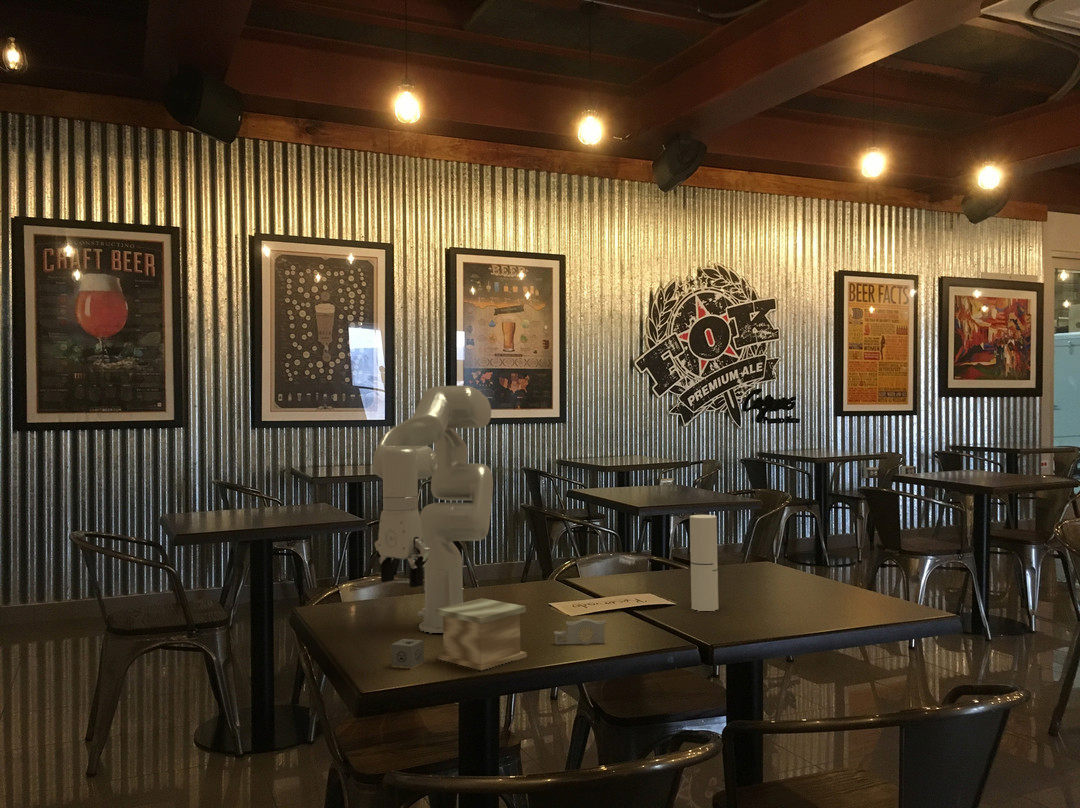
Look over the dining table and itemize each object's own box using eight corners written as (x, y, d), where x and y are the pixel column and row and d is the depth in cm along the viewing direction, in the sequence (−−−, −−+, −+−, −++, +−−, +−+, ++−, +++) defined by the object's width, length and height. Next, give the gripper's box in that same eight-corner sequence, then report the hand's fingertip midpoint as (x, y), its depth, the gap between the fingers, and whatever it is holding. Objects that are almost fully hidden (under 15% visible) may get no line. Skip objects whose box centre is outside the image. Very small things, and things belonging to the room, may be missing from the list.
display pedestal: (437, 659, 197) (436, 609, 198) (482, 646, 208) (482, 598, 208) (481, 671, 188) (480, 618, 188) (527, 656, 198) (526, 606, 198)
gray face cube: (411, 669, 191) (411, 646, 191) (391, 667, 193) (391, 644, 193) (423, 663, 195) (423, 640, 195) (403, 661, 197) (403, 638, 197)
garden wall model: (554, 645, 208) (554, 619, 208) (554, 643, 210) (553, 618, 210) (606, 644, 208) (605, 618, 208) (605, 642, 210) (604, 616, 210)
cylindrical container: (686, 607, 244) (685, 515, 244) (710, 605, 246) (708, 514, 246) (699, 612, 237) (697, 518, 237) (723, 610, 240) (721, 517, 240)
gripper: (362, 504, 197) (363, 582, 197) (413, 508, 186) (414, 591, 186) (389, 501, 203) (390, 577, 203) (440, 505, 191) (441, 585, 191)
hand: (401, 583), depth 194 cm, fingers open, 9 cm apart
